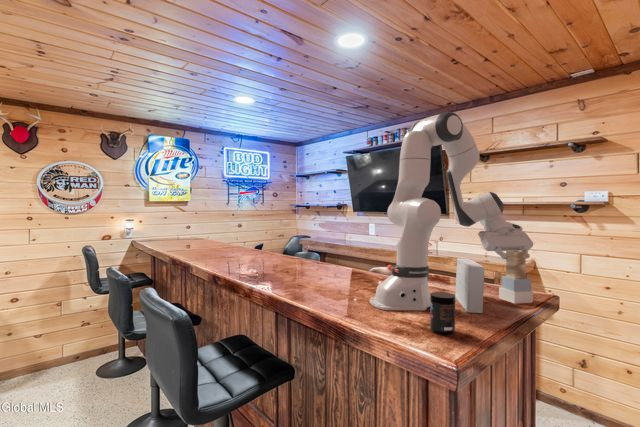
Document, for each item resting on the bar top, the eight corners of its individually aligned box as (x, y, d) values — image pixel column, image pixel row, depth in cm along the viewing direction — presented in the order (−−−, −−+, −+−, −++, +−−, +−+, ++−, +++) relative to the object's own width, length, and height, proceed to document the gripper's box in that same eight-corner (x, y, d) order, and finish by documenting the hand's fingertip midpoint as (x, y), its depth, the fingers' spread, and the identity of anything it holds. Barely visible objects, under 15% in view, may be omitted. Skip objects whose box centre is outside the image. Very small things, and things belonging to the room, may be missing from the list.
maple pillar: (514, 279, 126) (514, 252, 126) (506, 276, 131) (506, 251, 131) (525, 278, 127) (525, 252, 127) (516, 276, 132) (516, 250, 131)
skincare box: (484, 314, 112) (485, 266, 111) (467, 313, 113) (467, 266, 112) (469, 298, 132) (470, 257, 132) (455, 297, 133) (455, 257, 133)
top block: (513, 291, 125) (513, 279, 125) (501, 287, 132) (501, 276, 132) (531, 291, 126) (531, 279, 126) (518, 287, 133) (518, 275, 133)
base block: (514, 304, 124) (514, 292, 124) (498, 298, 132) (499, 287, 132) (532, 303, 126) (532, 291, 126) (516, 297, 134) (516, 286, 134)
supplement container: (445, 326, 100) (445, 291, 100) (460, 334, 93) (460, 297, 93) (425, 328, 98) (425, 292, 98) (439, 336, 91) (439, 298, 91)
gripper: (480, 225, 134) (496, 253, 124) (524, 225, 138) (544, 252, 128) (472, 236, 138) (488, 263, 129) (516, 235, 142) (534, 262, 133)
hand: (516, 258), depth 129 cm, fingers open, 8 cm apart
